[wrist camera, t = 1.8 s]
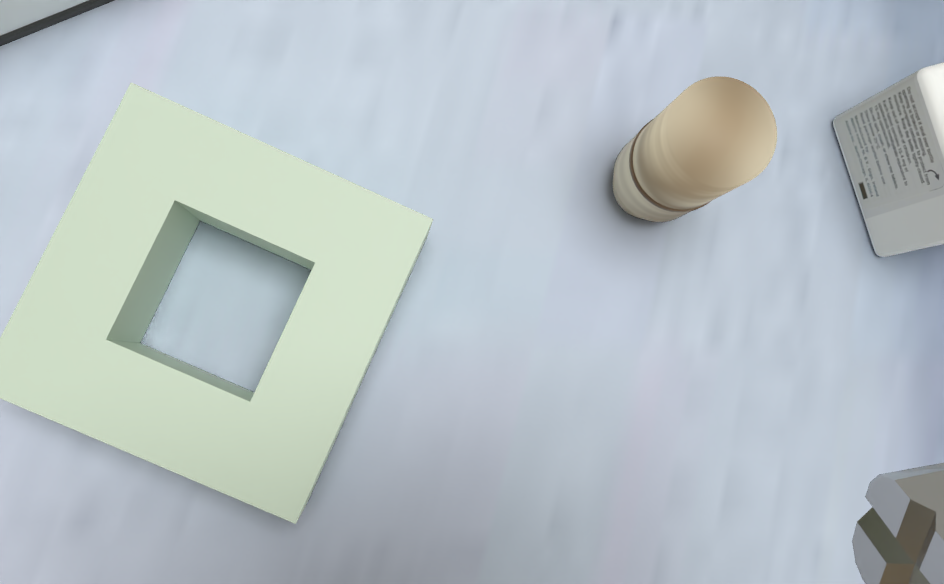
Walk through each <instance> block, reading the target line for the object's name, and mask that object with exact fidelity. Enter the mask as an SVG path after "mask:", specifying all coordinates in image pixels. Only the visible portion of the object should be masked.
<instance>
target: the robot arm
mask: <svg viewBox="0 0 944 584" xmlns="http://www.w3.org/2000/svg"><path fill="white" fill-rule="evenodd" d="M865 497H866V499H867V500H868V501H869V503H870V504H871V506H872V508H871V509H870V510H869V511H868V512H867V513H866V514H865V515H864V516H863V517H862V518H861V519H860V520H859V521H857V524H856V528H855V532H854V536H853V540H852V543H853V550H854V556H855V563H856V565H857V567H858V570H859V572H860V574H861V577H862V579H863V581H864V582H865V584H944V463H939V464H934V465H928V466H923V467H918V468H912V469H907V470H901V471H896V472H890V473H885V474H880V475H878V476H877V477H876V478H874V479H873V480H872V481H871V482H870V484H869V487H868V490H867V493H866V496H865Z"/></svg>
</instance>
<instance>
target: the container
mask: <svg viewBox="0 0 944 584" xmlns="http://www.w3.org/2000/svg"><path fill="white" fill-rule="evenodd" d="M833 126H834V129H835V132H836V135H837V138H838V141H839V144H840V147H841V150H842V153H843V157H844V160H845V163H846V166H847V169H848V172H849V175H850V178H851V181H852V184H853V187H854V190H855V193H856V196H857V199H858V202H859V205H860V208H861V211H862V214H863V217H864V220H865V223H866V226H867V229H868V232H869V236H870V239H871V242H872V245H873V248H874V251H875V253H876V254H877V255H878V256H880V257H887V256H892V255H896V254H901V253H905V252H910V251H914V250H919V249H923V248H928V247H932V246H937V245H941V244H944V62H943V63H940V64H936V65H933V66H929V67H925V68H922V69H920V70H919V71H917V72H915V73H913V74H911V75H910V76H908V77H906V78H904V79H902V80H901V81H899V82H897V83H895V84H893V85H892V86H890V87H888V88H886V89H885V90H883V91H881V92H879V93H877V94H876V95H874V96H872V97H870V98H868V99H867V100H865V101H863V102H861V103H859V104H858V105H856V106H854V107H852V108H850V109H849V110H847V111H845V112H843V113H841V114H840V115H838V116H836V117H835V119H834V121H833Z"/></svg>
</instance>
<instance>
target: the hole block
mask: <svg viewBox="0 0 944 584" xmlns="http://www.w3.org/2000/svg"><path fill="white" fill-rule="evenodd" d="M200 221H202V222H204V223H207V224H209V225H211V226H213V227H216V228H218V229H220V230H222V231H225V232H227V233H229V234H231V235H234V236H236V237H238V238H240V239H243V240H245V241H247V242H249V243H252V244H254V245H256V246H258V247H261V248H263V249H265V250H267V251H270V252H272V253H274V254H276V255H279V256H281V257H283V258H285V259H288V260H290V261H292V262H294V263H297V264H299V265H301V266H303V267H306V268H308V269H310V270H311V273H310V275H309V277H308V279H307V281H306V283H305V285H304V288H303V290H302V292H301V294H300V296H299V298H298V300H297V303H296V305H295V307H294V309H293V311H292V313H291V315H290V318H289V320H288V322H287V324H286V326H285V328H284V330H283V333H282V335H281V337H280V339H279V341H278V343H277V345H276V348H275V350H274V352H273V354H272V356H271V358H270V360H269V363H268V365H267V367H266V369H265V371H264V373H263V375H262V378H261V380H260V382H259V384H258V386H257V388H256V390H255V393H254V392H252V391H249V390H247V389H245V388H243V387H240V386H238V385H236V384H233V383H231V382H229V381H226V380H224V379H222V378H219V377H217V376H215V375H213V374H210V373H208V372H206V371H203V370H201V369H199V368H196V367H194V366H192V365H190V364H187V363H185V362H183V361H180V360H178V359H176V358H173V357H171V356H169V355H166V354H164V353H162V352H160V351H157V350H155V349H153V348H150V347H148V346H146V345H143V344H141V341H142V339H143V337H144V334H145V332H146V330H147V328H148V326H149V324H150V322H151V320H152V318H153V316H154V314H155V312H156V310H157V308H158V306H159V304H160V302H161V300H162V298H163V296H164V294H165V291H166V289H167V287H168V285H169V283H170V281H171V279H172V277H173V275H174V273H175V271H176V269H177V267H178V265H179V263H180V261H181V259H182V257H183V255H184V253H185V251H186V249H187V246H188V244H189V242H190V240H191V238H192V236H193V234H194V232H195V230H196V228H197V226H198V224H199V222H200ZM432 221H433V219H432V218H429V217H427V216H425V215H423V214H420V213H418V212H416V211H414V210H412V209H409V208H407V207H405V206H403V205H401V204H398V203H396V202H394V201H392V200H390V199H387V198H385V197H383V196H381V195H378V194H376V193H374V192H372V191H370V190H367V189H365V188H363V187H361V186H359V185H356V184H354V183H352V182H350V181H348V180H345V179H343V178H341V177H339V176H336V175H334V174H332V173H330V172H328V171H325V170H323V169H321V168H319V167H317V166H314V165H312V164H310V163H308V162H306V161H303V160H301V159H299V158H297V157H294V156H292V155H290V154H288V153H286V152H283V151H281V150H279V149H277V148H275V147H272V146H270V145H268V144H266V143H264V142H261V141H259V140H257V139H255V138H253V137H250V136H248V135H246V134H244V133H241V132H239V131H237V130H235V129H233V128H230V127H228V126H226V125H224V124H222V123H219V122H217V121H215V120H213V119H211V118H208V117H206V116H204V115H202V114H199V113H197V112H195V111H193V110H191V109H188V108H186V107H184V106H182V105H180V104H177V103H175V102H173V101H171V100H169V99H166V98H164V97H162V96H160V95H157V94H155V93H153V92H151V91H149V90H146V89H144V88H142V87H140V86H138V85H135V84H133V83H130V85H129V87H128V89H127V91H126V93H125V95H124V97H123V99H122V101H121V103H120V105H119V107H118V109H117V111H116V113H115V115H114V117H113V119H112V120H111V122H110V124H109V126H108V128H107V130H106V132H105V134H104V136H103V138H102V140H101V142H100V144H99V146H98V148H97V150H96V152H95V154H94V156H93V158H92V160H91V162H90V163H89V165H88V167H87V169H86V171H85V173H84V175H83V177H82V179H81V181H80V183H79V185H78V187H77V189H76V191H75V193H74V195H73V197H72V199H71V201H70V203H69V205H68V207H67V208H66V210H65V212H64V214H63V216H62V218H61V220H60V222H59V224H58V226H57V228H56V230H55V232H54V234H53V236H52V238H51V240H50V242H49V244H48V246H47V248H46V250H45V251H44V253H43V255H42V257H41V259H40V261H39V263H38V265H37V267H36V269H35V271H34V273H33V275H32V277H31V279H30V281H29V283H28V285H27V287H26V289H25V291H24V293H23V294H22V296H21V298H20V300H19V302H18V304H17V306H16V308H15V310H14V312H13V314H12V316H11V318H10V320H9V322H8V324H7V326H6V328H5V330H4V332H3V334H2V336H1V338H0V398H1V399H3V400H5V401H8V402H10V403H12V404H15V405H17V406H19V407H22V408H24V409H26V410H29V411H31V412H33V413H36V414H38V415H40V416H43V417H45V418H48V419H50V420H52V421H55V422H57V423H59V424H62V425H64V426H66V427H69V428H71V429H73V430H76V431H78V432H80V433H83V434H85V435H88V436H90V437H92V438H95V439H97V440H99V441H102V442H104V443H106V444H109V445H111V446H113V447H116V448H118V449H120V450H123V451H125V452H127V453H130V454H132V455H135V456H137V457H139V458H142V459H144V460H146V461H149V462H151V463H153V464H156V465H158V466H160V467H163V468H165V469H167V470H170V471H172V472H175V473H177V474H179V475H182V476H184V477H186V478H189V479H191V480H193V481H196V482H198V483H200V484H203V485H205V486H207V487H210V488H212V489H214V490H217V491H219V492H222V493H224V494H226V495H229V496H231V497H233V498H236V499H238V500H240V501H243V502H245V503H247V504H250V505H252V506H254V507H257V508H259V509H262V510H264V511H266V512H269V513H271V514H273V515H276V516H278V517H280V518H283V519H285V520H287V521H290V522H292V523H294V524H296V523H297V521H298V519H299V517H300V515H301V514H302V512H303V510H304V508H305V507H306V505H307V503H308V500H309V498H310V496H311V494H312V492H313V489H314V487H315V485H316V483H317V480H318V478H319V476H320V474H321V472H322V469H323V467H324V465H325V463H326V460H327V458H328V456H329V454H330V452H331V449H332V447H333V445H334V443H335V440H336V438H337V436H338V434H339V432H340V429H341V427H342V425H343V423H344V421H345V418H346V416H347V414H348V412H349V409H350V407H351V405H352V403H353V401H354V398H355V396H356V394H357V392H358V389H359V387H360V385H361V383H362V381H363V378H364V376H365V374H366V372H367V369H368V367H369V365H370V363H371V361H372V358H373V356H374V354H375V352H376V350H377V347H378V345H379V343H380V341H381V338H382V336H383V334H384V332H385V330H386V327H387V325H388V323H389V321H390V318H391V316H392V314H393V312H394V310H395V307H396V305H397V303H398V301H399V298H400V296H401V294H402V292H403V290H404V287H405V285H406V283H407V281H408V279H409V276H410V274H411V272H412V270H413V267H414V265H415V263H416V261H417V259H418V256H419V254H420V252H421V250H422V247H423V245H424V243H425V241H426V239H427V236H428V233H429V230H430V227H431V224H432Z"/></svg>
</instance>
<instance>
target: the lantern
mask: <svg viewBox="0 0 944 584" xmlns="http://www.w3.org/2000/svg"><path fill="white" fill-rule="evenodd" d="M112 1H114V0H0V46H2V45H5V44H7V43H10V42H12V41H15V40H17V39H20V38H22V37H25V36H27V35H30V34H32V33H35V32H37V31H39V30H42V29H44V28H47V27H49V26H52V25H54V24H57V23H59V22H62V21H64V20H67V19H69V18H72V17H74V16H77V15H79V14H82V13H84V12H87V11H89V10H92V9H94V8H97V7H99V6H102V5H104V4H107V3H109V2H112Z"/></svg>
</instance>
